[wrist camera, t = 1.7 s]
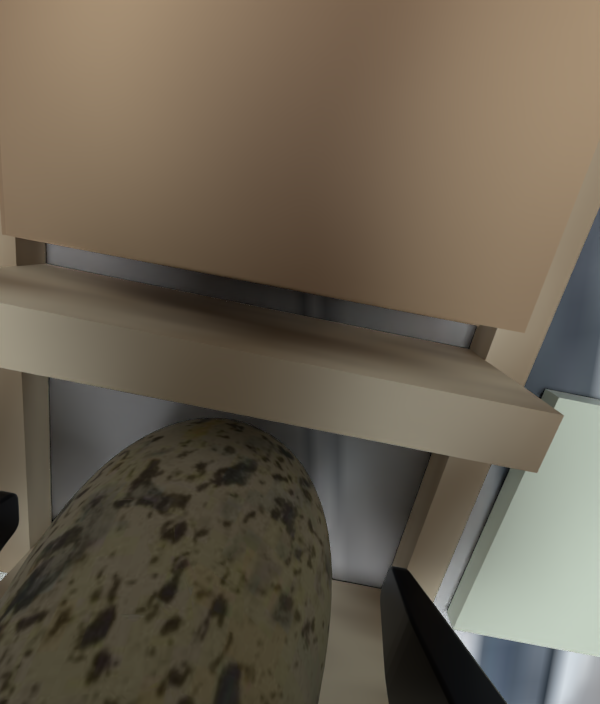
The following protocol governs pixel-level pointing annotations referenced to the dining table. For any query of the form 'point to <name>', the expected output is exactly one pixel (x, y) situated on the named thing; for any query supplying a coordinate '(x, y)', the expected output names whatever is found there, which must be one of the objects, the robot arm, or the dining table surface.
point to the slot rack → (282, 401)
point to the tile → (542, 545)
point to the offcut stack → (307, 141)
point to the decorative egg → (176, 579)
